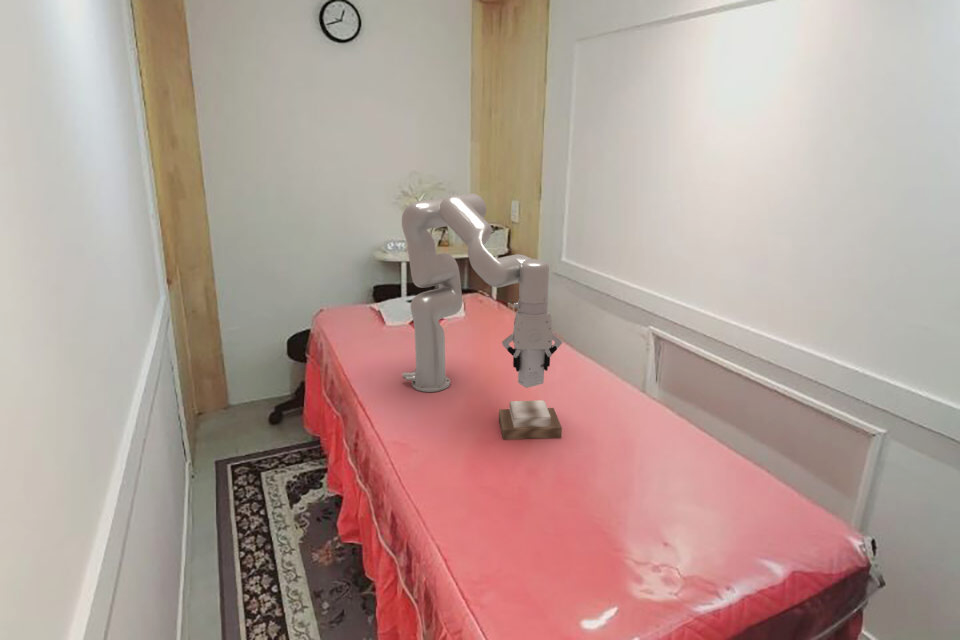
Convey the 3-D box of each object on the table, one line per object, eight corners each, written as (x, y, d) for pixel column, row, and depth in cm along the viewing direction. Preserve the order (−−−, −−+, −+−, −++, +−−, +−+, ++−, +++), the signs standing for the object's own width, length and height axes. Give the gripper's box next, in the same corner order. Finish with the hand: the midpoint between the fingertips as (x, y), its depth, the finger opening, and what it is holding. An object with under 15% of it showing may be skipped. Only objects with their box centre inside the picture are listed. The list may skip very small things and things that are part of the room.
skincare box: (527, 388, 157) (528, 346, 153) (516, 382, 160) (518, 341, 157) (544, 383, 160) (546, 342, 156) (534, 378, 164) (536, 337, 160)
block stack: (503, 439, 158) (503, 419, 157) (498, 418, 170) (499, 400, 168) (561, 437, 160) (562, 418, 158) (553, 417, 171) (554, 398, 169)
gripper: (501, 311, 149) (500, 375, 155) (568, 310, 150) (565, 373, 156) (498, 303, 156) (498, 364, 162) (562, 302, 157) (560, 363, 163)
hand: (531, 368), depth 159 cm, fingers closed on skincare box, 7 cm apart
